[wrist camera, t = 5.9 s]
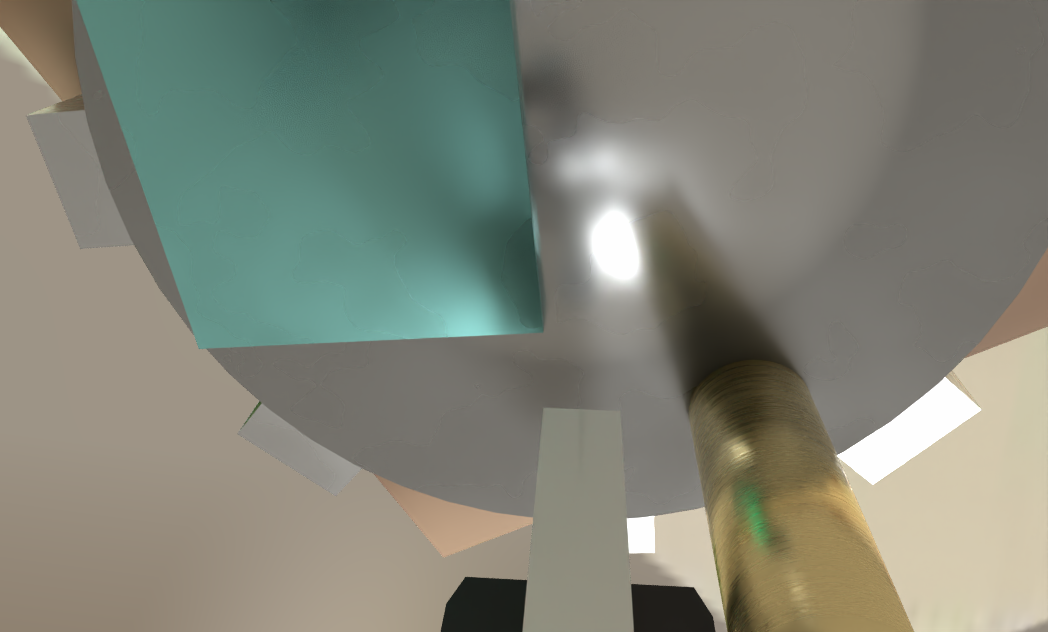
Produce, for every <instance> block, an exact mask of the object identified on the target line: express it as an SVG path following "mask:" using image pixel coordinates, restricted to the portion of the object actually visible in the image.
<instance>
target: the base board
mask: <svg viewBox="0 0 1048 632" xmlns="http://www.w3.org/2000/svg"><path fill="white" fill-rule="evenodd" d="M0 27H1V28H2V29H3V30H4V32H5V33H6V34H7V35H8V36H9V38H10V39H11V40H12V41H13V42H14V44H15V45H16V46H17V47H18V48H19V50H20V51H21V52H22V53H23V54H24V56H25V57H26V58H27V59H28V60H29V62H30V63H31V64H32V65H33V66H34V68H35V69H36V70H37V71H38V72H39V74H40V75H41V76H42V77H43V78H44V80H45V81H46V82H47V83H48V84H49V86H50V87H51V88H52V89H53V90H54V92H55V93H56V94H57V95H58V96H59V98H60V99H61V100H62V101H65V100H67V99H70V98H73V97H75V96H78V95H81V94H82V92H81V86H80V81H79V76H78V70H77V65H76V59H75V48H74V31H73V15H72V0H0ZM1047 326H1048V248H1047V250H1046V251H1045V253H1044V254H1043V256H1042V258H1041V259H1040V261H1039V262H1038V264H1037V266H1036V267H1035V269H1034V270H1033V272H1032V274H1031V275H1030V277H1029V278H1028V280H1027V282H1026V283H1025V285H1024V286H1023V288H1022V290H1021V291H1020V293H1019V294H1018V295H1017V297H1016V298H1015V299H1014V300H1013V302H1012V303H1011V304H1010V305H1009V307H1008V308H1007V309H1006V310H1005V312H1004V313H1003V314H1002V315H1001V317H1000V318H999V319H998V320H997V322H996V323H995V324H994V325H993V327H992V328H991V329H990V330H989V332H988V333H987V334H986V335H985V337H984V338H983V339H982V340H981V342H980V343H979V344H978V345H977V346H976V347H975V348H974V349H973V350H972V351H971V352H970V353H969V354H968V355H967V356H966V357H969V356H972V355H974V354H977V353H979V352H982V351H985V350H987V349H990V348H993V347H995V346H998V345H1000V344H1003V343H1006V342H1008V341H1011V340H1013V339H1016V338H1019V337H1021V336H1024V335H1027V334H1029V333H1032V332H1034V331H1037V330H1040V329H1042V328H1045V327H1047ZM966 357H965V358H966ZM373 474H374V473H373ZM374 475H375V476H376V477H377V478H378V479H379V481H380V482H381V483H382V484H383V486H384V487H385V488H386V489H387V490H388V492H389V493H390V494H391V495H392V496H393V498H394V499H395V500H396V501H397V502H398V503H399V505H400V506H401V507H402V508H403V510H404V511H405V512H406V513H407V514H408V515H409V517H410V518H411V519H412V520H413V521H414V523H415V524H416V525H417V526H418V527H419V529H420V530H421V531H422V532H423V533H424V535H425V536H426V537H427V538H428V539H429V541H430V542H431V543H432V544H433V545H434V547H435V548H436V549H437V550H438V551H439V553H440V554H441V555H442V556H443V557H446V556H449V555H452V554H454V553H457V552H459V551H462V550H465V549H467V548H470V547H472V546H475V545H478V544H480V543H483V542H486V541H488V540H491V539H493V538H496V537H498V536H501V535H504V534H506V533H509V532H512V531H514V530H517V529H519V528H522V527H525V526H527V525H530V524H533V518H532V517H524V516H517V515H509V514H501V513H495V512H490V511H486V510H482V509H477V508H473V507H469V506H464V505H460V504H456V503H451V502H447V501H444V500H441V499H439V498H436V497H433V496H430V495H427V494H424V493H421V492H418V491H415V490H412V489H409V488H406V487H403V486H400V485H398V484H396V483H394V482H391V481H389V480H387V479H385V478H383V477H380V476H378V475H376V474H374Z"/></svg>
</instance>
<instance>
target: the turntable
mask: <svg viewBox="0 0 1048 632" xmlns="http://www.w3.org/2000/svg"><path fill="white" fill-rule="evenodd" d="M72 15H73V31H74V48H75V59H76V65H77V70H78V76H79V81H80V86H81V92H82V94H81V95H78V96H75V97H73V98H70V99H67V100H65V101H62V102H59V103H57V104H54V105H52V106H49V107H46V108H44V109H41V110H38V111H36V112H33V113H30V114H28V115H26V117H27V119H28V122H29V124H30V126H31V129H32V131H33V134H34V136H35V139H36V141H37V144H38V146H39V149H40V151H41V153H42V156H43V158H44V161H45V163H46V166H47V168H48V170H49V173H50V175H51V178H52V180H53V183H54V185H55V188H56V190H57V193H58V195H59V198H60V200H61V202H62V205H63V207H64V209H65V212H66V215H67V217H68V220H69V222H70V224H71V227H72V229H73V232H74V234H75V237H76V239H77V242H78V244H79V247H80V248H81V249H83V248H98V247H113V246H128V245H135V247H136V249H137V250H138V252H139V254H140V256H141V257H142V259H143V261H144V263H145V264H146V266H147V268H148V270H149V271H150V273H151V275H152V276H153V278H154V280H155V282H156V283H157V285H158V287H159V288H160V290H161V291H162V293H163V294H164V295H165V297H166V298H167V299H168V301H169V302H170V303H171V305H172V306H173V307H174V309H175V310H176V312H177V313H178V314H179V316H180V317H181V318H182V320H183V321H184V322H185V324H186V325H187V327H188V328H189V329H190V331H191V332H192V333H193V335H194V336H195V339H196V342H197V345H198V347H199V349H207V350H208V351H209V352H210V353H211V354H212V355H213V357H215V359H216V360H217V361H218V362H219V363H220V364H221V365H222V366H223V367H224V369H225V370H226V371H227V372H228V373H229V374H230V375H231V376H232V377H233V378H234V379H236V380H237V381H238V382H239V383H240V384H241V385H242V386H243V387H245V388H246V389H247V390H248V391H249V392H250V393H251V394H252V395H254V396H255V397H256V398H257V399H258V400H259V403H258V404H257V405H256V407H255V408H254V410H253V411H252V413H251V414H250V416H249V417H248V419H247V420H246V422H245V423H244V425H243V426H242V428H241V429H240V431H239V432H238V435H240V436H241V437H243V438H245V439H246V440H248V441H249V442H251V443H252V444H254V445H256V446H257V447H259V448H260V449H262V450H264V451H265V452H267V453H268V454H270V455H271V456H273V457H275V458H276V459H278V460H279V461H281V462H283V463H284V464H286V465H288V466H289V467H291V468H292V469H294V470H295V471H297V472H298V473H300V474H302V475H303V476H305V477H306V478H308V479H310V480H311V481H313V482H314V483H316V484H318V485H319V486H321V487H322V488H324V489H325V490H327V491H329V492H330V493H332V494H333V495H335V496H336V495H337V494H338V493H339V492H340V491H341V490H342V489H343V488H344V487H345V486H346V485H347V484H348V483H349V481H350V480H351V479H352V478H353V477H354V476H355V475H356V474H357V473H358V472H359V471H360V470H361V469H362V468H363V469H365V470H367V471H369V472H372V473H374V474H376V475H378V476H380V477H383V478H385V479H387V480H389V481H391V482H394V483H396V484H398V485H400V486H403V487H406V488H409V489H412V490H415V491H418V492H421V493H424V494H427V495H430V496H433V497H436V498H439V499H441V500H444V501H447V502H451V503H456V504H460V505H464V506H469V507H473V508H477V509H482V510H486V511H490V512H495V513H501V514H509V515H517V516H524V517H532V518H533V514H534V504H535V493H536V482H537V472H538V461H539V450H540V440H541V429H542V418H543V408H561V409H585V410H612V411H621V425H622V442H623V459H624V476H625V492H626V509H627V526H628V543H629V553H655V549H654V516H657V515H663V514H669V513H675V512H681V511H687V510H693V509H698V508H701V507H705V510H706V515H707V521H708V527H709V532H710V538H711V543H712V549H713V554H714V560H715V565H716V571H717V576H718V582H719V587H720V593H721V599H722V604H723V610H724V615H725V621H726V626H727V632H914V631H913V628H912V626H911V624H910V621H909V619H908V617H907V614H906V612H905V610H904V608H903V605H902V603H901V601H900V598H899V596H898V594H897V591H896V589H895V587H894V585H893V582H892V580H891V578H890V575H889V573H888V571H887V568H886V566H885V564H884V562H883V559H882V557H881V555H880V552H879V550H878V548H877V545H876V543H875V541H874V539H873V536H872V534H871V532H870V529H869V527H868V525H867V523H866V520H865V518H864V516H863V513H862V511H861V509H860V506H859V504H858V502H857V500H856V497H855V495H854V493H853V490H852V488H851V486H850V483H849V481H848V479H847V477H846V474H845V472H844V470H843V467H842V465H841V463H840V460H839V458H841V459H842V460H843V461H844V462H846V463H847V464H848V465H849V466H851V467H852V468H853V469H854V470H856V471H857V472H858V473H859V474H861V475H862V476H863V477H864V478H866V479H867V480H868V481H869V482H871V483H872V484H874V483H875V482H877V481H878V480H880V479H881V478H883V477H884V476H886V475H887V474H888V473H890V472H891V471H893V470H894V469H896V468H897V467H899V466H900V465H902V464H903V463H905V462H906V461H907V460H909V459H910V458H912V457H913V456H915V455H916V454H918V453H919V452H921V451H922V450H924V449H925V448H926V447H928V446H929V445H931V444H932V443H934V442H935V441H937V440H938V439H940V438H941V437H942V436H944V435H945V434H947V433H948V432H950V431H951V430H953V429H954V428H956V427H957V426H959V425H960V424H961V423H963V422H964V421H966V420H967V419H969V418H970V417H972V416H973V415H975V414H976V413H978V412H979V411H980V410H982V409H981V408H980V407H979V405H978V404H977V403H976V401H975V400H974V399H973V397H972V396H971V395H970V394H969V392H968V391H967V390H966V388H965V387H964V386H963V384H962V383H961V382H960V380H959V379H958V378H957V376H956V375H955V374H954V372H953V371H952V370H953V369H954V368H955V367H956V366H957V365H958V364H959V363H960V362H961V361H962V360H963V359H964V358H965V357H966V356H967V355H968V354H969V353H970V352H971V351H972V350H973V349H974V348H975V347H976V346H977V345H978V344H979V343H980V342H981V340H982V339H983V338H984V337H985V335H986V334H987V333H988V332H989V330H990V329H991V328H992V327H993V325H994V324H995V323H996V322H997V320H998V319H999V318H1000V317H1001V315H1002V314H1003V313H1004V312H1005V310H1006V309H1007V308H1008V307H1009V305H1010V304H1011V303H1012V302H1013V300H1014V299H1015V298H1016V297H1017V295H1018V294H1019V293H1020V291H1021V290H1022V288H1023V286H1024V285H1025V283H1026V282H1027V280H1028V278H1029V277H1030V275H1031V274H1032V272H1033V270H1034V269H1035V267H1036V266H1037V264H1038V262H1039V261H1040V259H1041V258H1042V256H1043V254H1044V253H1045V251H1046V250H1047V248H1048V0H72ZM838 457H839V458H838Z"/></svg>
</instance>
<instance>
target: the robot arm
mask: <svg viewBox="0 0 1048 632" xmlns="http://www.w3.org/2000/svg"><path fill="white" fill-rule="evenodd" d="M441 632H715V627H714V621H713V616H712V615H711V613H710V612H709V610H708V609H707V607H706V606H705V604H704V602H703V601H702V599H701V598H700V596H699V595H698V593H697V592H696V590H695V589H694V587H676V586H658V585H657V586H656V585H638V584H631V577H630V559H629V543H628V526H627V509H626V492H625V476H624V459H623V442H622V425H621V411H612V410H585V409H561V408H543V418H542V429H541V440H540V450H539V461H538V472H537V482H536V493H535V504H534V514H533V526H532V536H531V546H530V557H529V568H528V578H527V580H513V579H493V578H476V577H465V578H464V580H463V581H462V583H461V584H460V585H459V587H458V588H457V590H456V591H455V592H454V594H453V595H452V597H451V598H450V600H449V601H448V602H447V604H446V608H445V613H444V618H443V623H442V627H441Z"/></svg>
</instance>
